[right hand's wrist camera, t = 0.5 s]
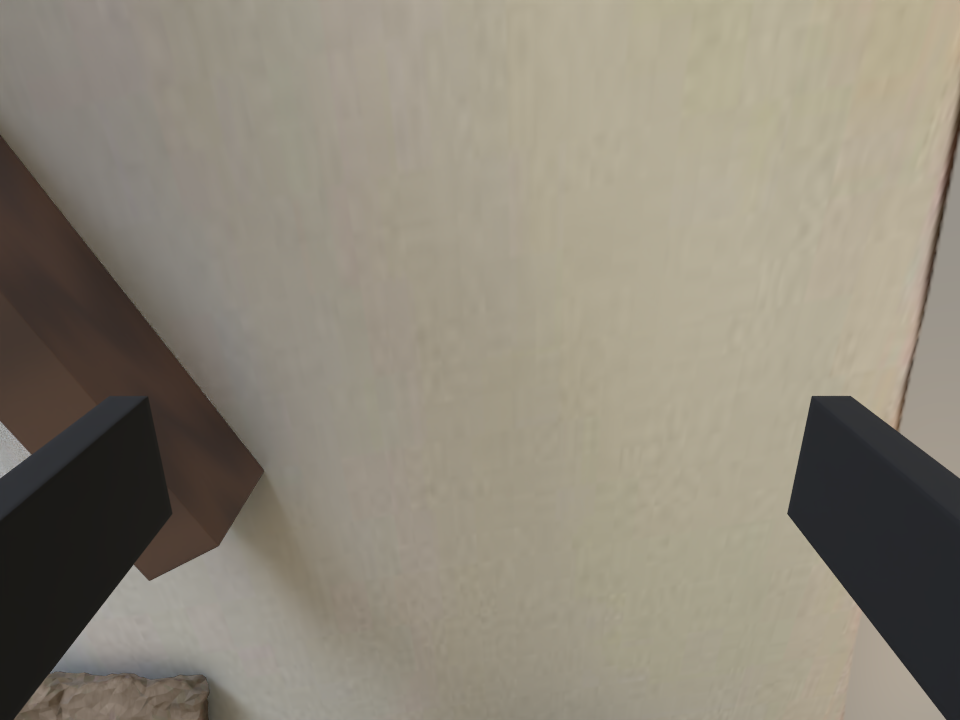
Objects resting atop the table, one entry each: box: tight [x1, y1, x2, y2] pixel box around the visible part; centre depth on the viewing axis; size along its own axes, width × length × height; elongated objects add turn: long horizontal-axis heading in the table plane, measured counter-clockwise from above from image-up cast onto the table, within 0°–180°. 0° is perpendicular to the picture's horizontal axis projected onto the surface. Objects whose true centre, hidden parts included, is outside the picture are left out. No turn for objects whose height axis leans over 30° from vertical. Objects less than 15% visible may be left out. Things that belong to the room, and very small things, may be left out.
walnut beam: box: [0, 136, 264, 581], centre depth 35 cm, size 30×5×8 cm, turn 29°
